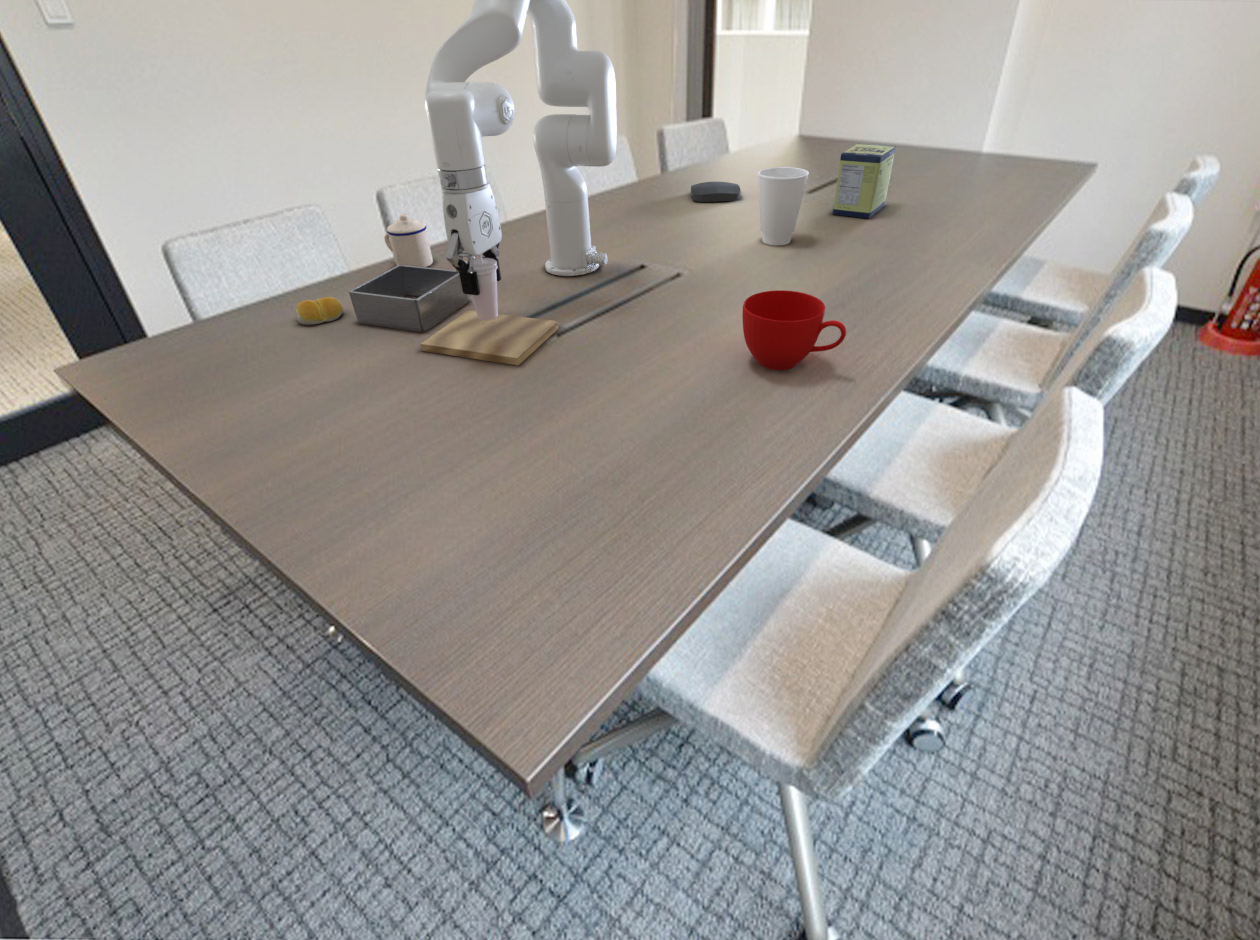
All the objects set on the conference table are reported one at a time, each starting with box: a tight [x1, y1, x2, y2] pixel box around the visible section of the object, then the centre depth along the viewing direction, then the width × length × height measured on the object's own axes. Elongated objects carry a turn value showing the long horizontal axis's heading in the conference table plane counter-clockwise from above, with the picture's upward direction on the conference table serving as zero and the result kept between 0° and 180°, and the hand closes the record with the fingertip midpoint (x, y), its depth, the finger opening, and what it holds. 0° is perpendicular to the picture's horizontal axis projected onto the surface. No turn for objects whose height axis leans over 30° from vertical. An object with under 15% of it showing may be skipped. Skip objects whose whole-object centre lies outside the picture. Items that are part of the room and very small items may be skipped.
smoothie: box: [464, 254, 499, 320], centre depth 113 cm, size 6×6×14 cm
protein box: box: [832, 143, 896, 220], centre depth 175 cm, size 10×16×16 cm
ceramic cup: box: [741, 289, 847, 371], centre depth 105 cm, size 13×17×10 cm
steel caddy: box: [348, 265, 470, 333], centre depth 130 cm, size 16×16×6 cm
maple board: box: [420, 309, 560, 366], centre depth 119 cm, size 20×16×2 cm
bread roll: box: [294, 296, 344, 326], centre depth 130 cm, size 8×9×4 cm
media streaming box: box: [690, 181, 742, 203], centre depth 196 cm, size 15×15×3 cm
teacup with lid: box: [383, 213, 434, 268], centre depth 153 cm, size 12×9×12 cm
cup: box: [757, 166, 810, 246], centre depth 155 cm, size 12×12×16 cm
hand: (482, 286), depth 113 cm, fingers closed on smoothie, 6 cm apart
